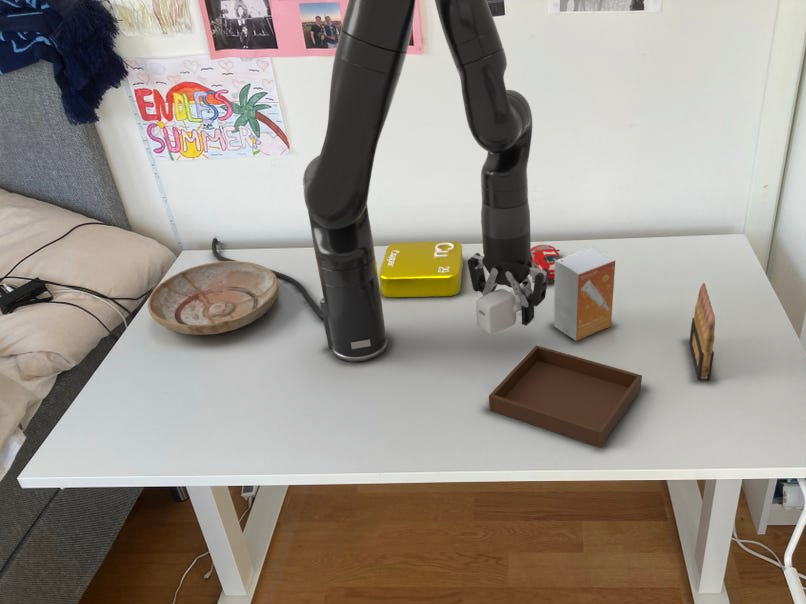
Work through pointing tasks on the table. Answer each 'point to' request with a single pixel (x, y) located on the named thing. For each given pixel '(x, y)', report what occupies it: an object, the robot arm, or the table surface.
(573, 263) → the small box
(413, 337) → the table surface
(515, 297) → the power adapter
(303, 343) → the table surface
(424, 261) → the element tile
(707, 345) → the ammunition clip
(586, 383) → the tray
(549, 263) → the race car
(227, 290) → the ceramic bowl
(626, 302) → the table surface
